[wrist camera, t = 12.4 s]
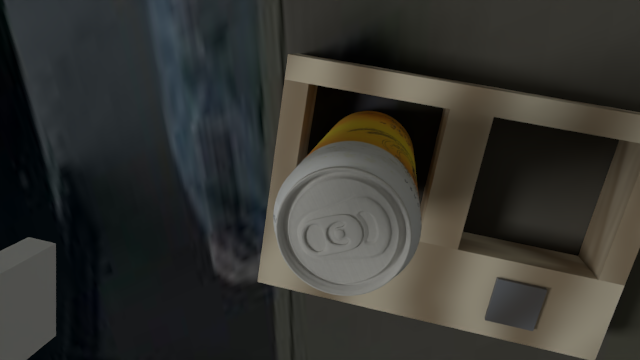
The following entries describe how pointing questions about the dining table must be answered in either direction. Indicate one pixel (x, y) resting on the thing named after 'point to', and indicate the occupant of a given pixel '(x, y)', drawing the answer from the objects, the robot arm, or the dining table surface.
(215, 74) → the dining table surface
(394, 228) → the beer can
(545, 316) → the socket board
